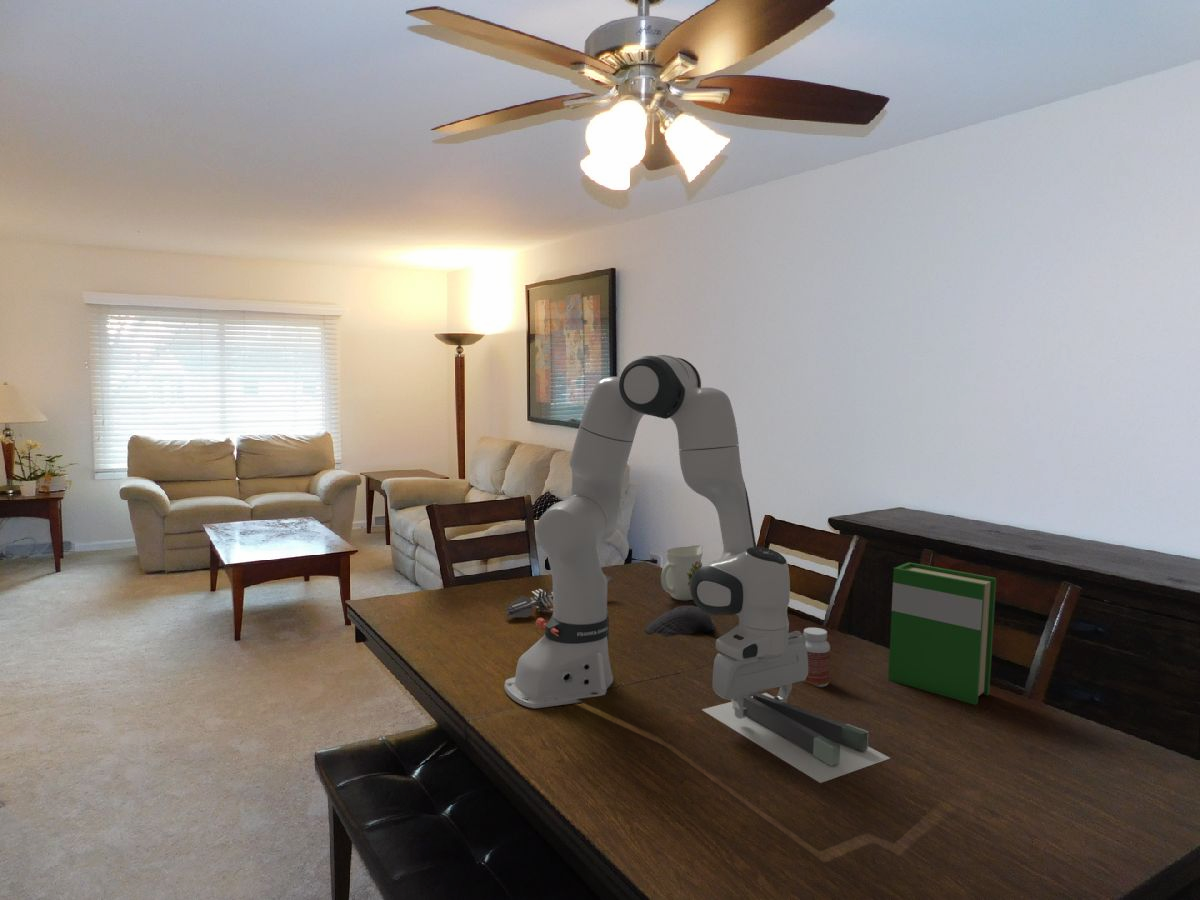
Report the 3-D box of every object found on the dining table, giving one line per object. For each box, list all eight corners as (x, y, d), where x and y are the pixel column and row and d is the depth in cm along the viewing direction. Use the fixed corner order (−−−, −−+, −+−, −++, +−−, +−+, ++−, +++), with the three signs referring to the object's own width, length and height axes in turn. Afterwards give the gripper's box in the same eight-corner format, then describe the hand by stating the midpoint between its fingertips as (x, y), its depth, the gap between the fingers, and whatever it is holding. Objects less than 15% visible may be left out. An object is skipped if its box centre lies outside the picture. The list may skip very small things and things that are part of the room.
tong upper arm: (752, 710, 146) (753, 694, 145) (758, 707, 147) (758, 692, 147) (862, 752, 130) (863, 734, 130) (867, 748, 131) (868, 731, 131)
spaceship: (621, 573, 218) (604, 558, 223) (516, 609, 196) (499, 591, 201) (616, 596, 221) (599, 580, 226) (512, 633, 200) (496, 615, 205)
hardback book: (989, 694, 157) (996, 578, 155) (976, 705, 152) (983, 584, 150) (903, 670, 170) (908, 562, 167) (888, 679, 164) (893, 568, 162)
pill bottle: (835, 684, 162) (837, 632, 161) (815, 690, 158) (817, 637, 157) (812, 674, 167) (814, 624, 166) (792, 680, 163) (793, 629, 162)
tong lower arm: (727, 706, 148) (727, 688, 147) (741, 703, 150) (742, 684, 149) (831, 767, 125) (832, 746, 125) (847, 762, 127) (848, 741, 127)
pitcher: (646, 600, 220) (647, 552, 218) (684, 587, 233) (685, 542, 232) (677, 608, 212) (678, 559, 211) (715, 595, 226) (716, 548, 224)
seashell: (728, 643, 193) (733, 611, 193) (663, 646, 184) (668, 613, 184) (696, 625, 206) (700, 595, 205) (634, 627, 197) (638, 596, 197)
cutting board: (820, 788, 121) (820, 782, 121) (701, 714, 147) (701, 709, 147) (890, 763, 129) (890, 758, 129) (765, 697, 155) (766, 692, 155)
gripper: (793, 624, 149) (790, 694, 151) (708, 642, 139) (706, 716, 140) (817, 634, 144) (814, 706, 145) (731, 653, 133) (728, 730, 135)
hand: (760, 711), depth 143 cm, fingers open, 8 cm apart
